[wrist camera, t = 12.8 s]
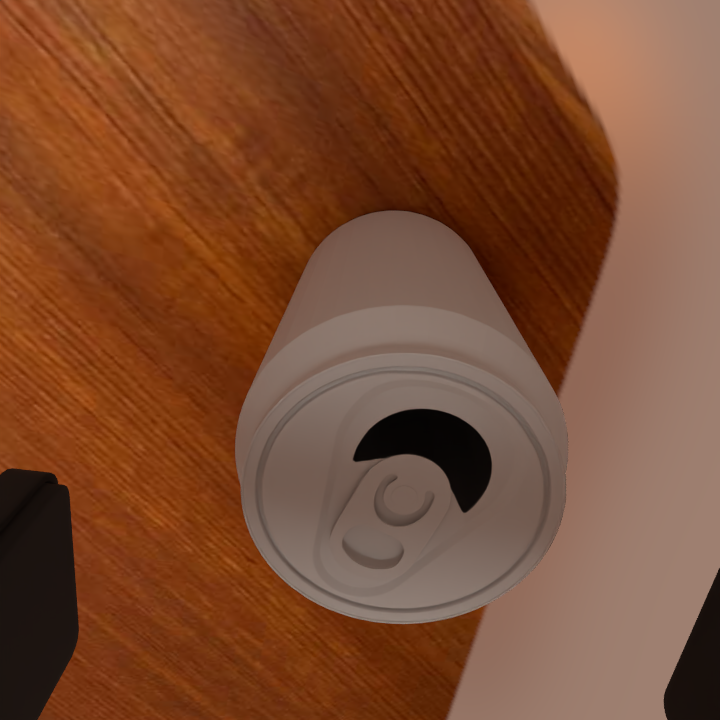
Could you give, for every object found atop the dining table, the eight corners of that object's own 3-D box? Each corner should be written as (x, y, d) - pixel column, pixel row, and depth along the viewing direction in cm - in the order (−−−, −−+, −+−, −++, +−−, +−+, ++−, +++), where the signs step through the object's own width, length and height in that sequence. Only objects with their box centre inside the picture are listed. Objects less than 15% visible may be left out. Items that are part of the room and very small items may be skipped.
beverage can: (519, 262, 21) (672, 441, 10) (424, 409, 23) (463, 688, 12) (353, 170, 20) (319, 257, 9) (271, 333, 22) (163, 562, 11)
